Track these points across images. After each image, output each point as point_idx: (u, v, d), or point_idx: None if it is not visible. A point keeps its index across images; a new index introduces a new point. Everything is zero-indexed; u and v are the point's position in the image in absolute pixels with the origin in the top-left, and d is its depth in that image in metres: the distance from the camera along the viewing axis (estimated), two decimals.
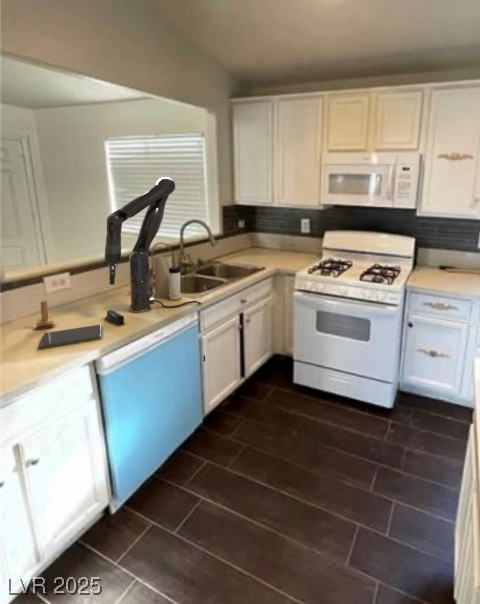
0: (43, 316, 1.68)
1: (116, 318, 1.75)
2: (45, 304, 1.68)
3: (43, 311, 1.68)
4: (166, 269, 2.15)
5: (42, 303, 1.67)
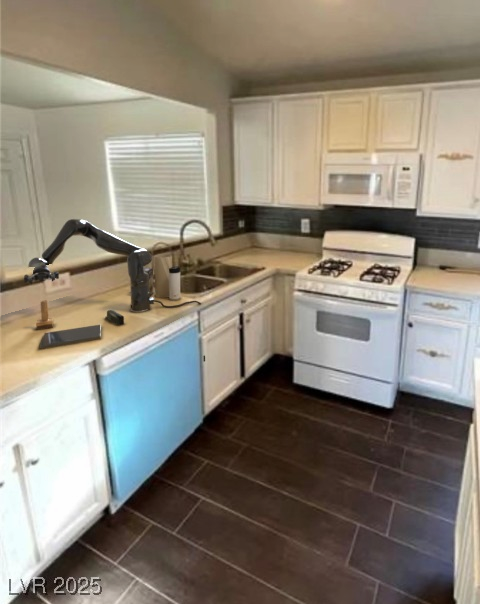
0: (43, 316, 1.68)
1: (116, 318, 1.75)
2: (45, 304, 1.68)
3: (43, 311, 1.68)
4: (166, 269, 2.15)
5: (42, 303, 1.67)
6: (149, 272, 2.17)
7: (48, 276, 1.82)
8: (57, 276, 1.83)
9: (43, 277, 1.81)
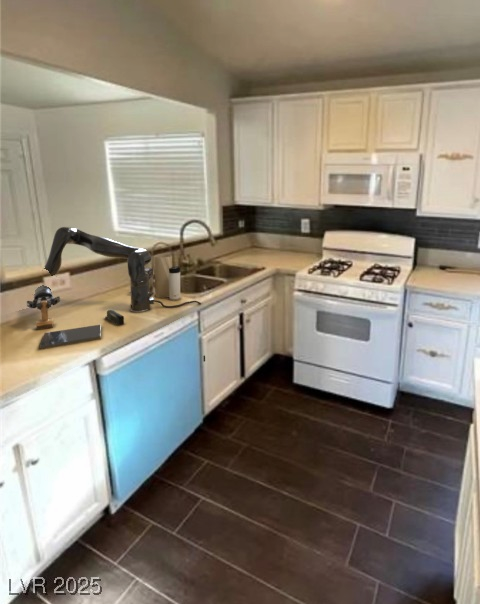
0: (43, 316, 1.68)
1: (116, 318, 1.75)
2: (45, 304, 1.68)
3: (43, 311, 1.68)
4: (166, 269, 2.15)
5: (42, 303, 1.67)
6: (149, 272, 2.17)
7: None
8: (53, 302, 1.72)
9: None
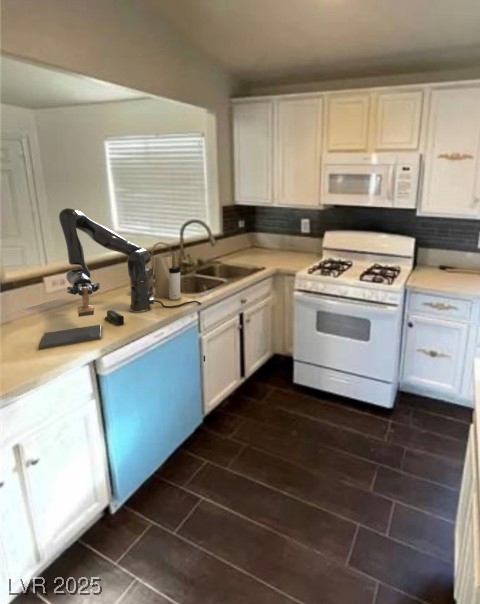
0: (84, 303, 1.62)
1: (116, 318, 1.75)
2: (86, 290, 1.62)
3: (85, 297, 1.62)
4: (166, 269, 2.15)
5: (83, 289, 1.62)
6: (149, 272, 2.17)
7: None
8: (93, 289, 1.66)
9: None
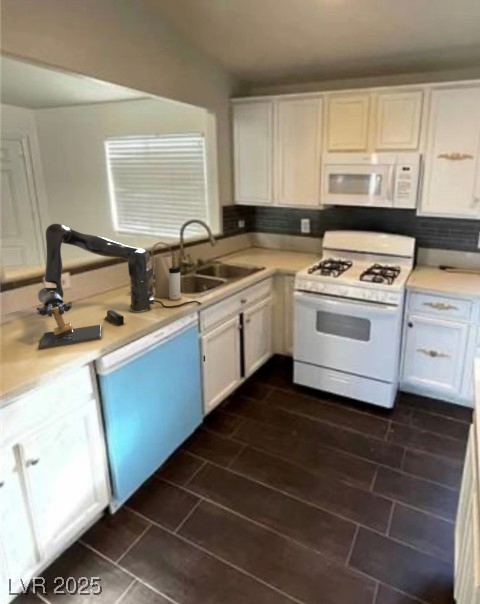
0: (59, 323, 1.56)
1: (116, 318, 1.75)
2: (57, 311, 1.55)
3: (57, 318, 1.55)
4: (166, 269, 2.15)
5: (53, 310, 1.54)
6: (149, 272, 2.17)
7: (58, 308, 1.59)
8: (65, 308, 1.59)
9: None
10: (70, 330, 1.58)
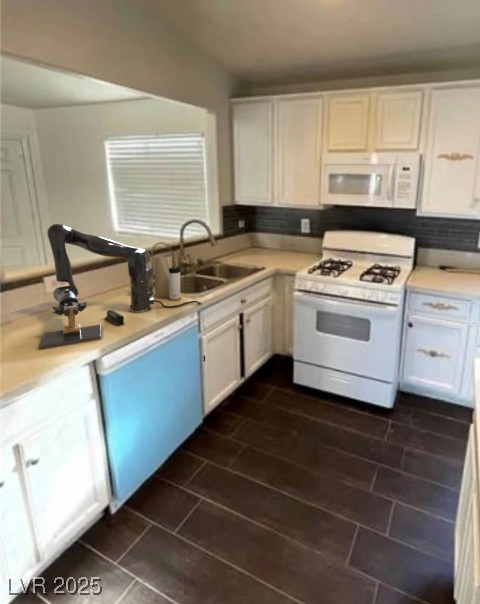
0: (70, 322, 1.58)
1: (116, 318, 1.75)
2: (72, 310, 1.58)
3: (71, 317, 1.58)
4: (166, 269, 2.15)
5: (69, 309, 1.57)
6: (149, 272, 2.17)
7: None
8: (80, 308, 1.62)
9: None
10: (78, 332, 1.60)
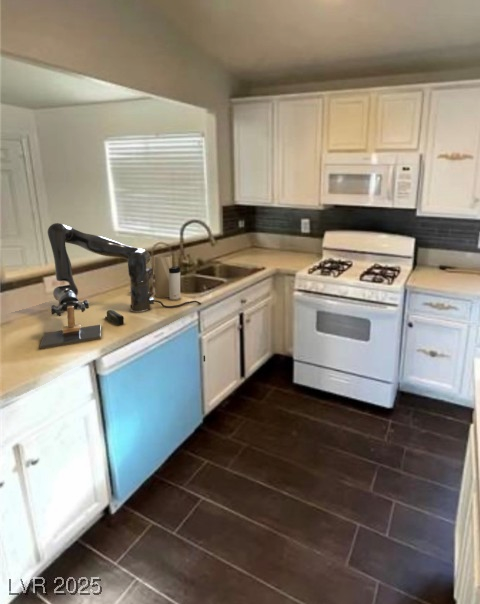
0: (70, 322, 1.58)
1: (116, 318, 1.75)
2: (72, 310, 1.58)
3: (70, 317, 1.58)
4: (166, 269, 2.15)
5: (69, 309, 1.57)
6: (149, 272, 2.17)
7: (77, 306, 1.64)
8: (87, 306, 1.65)
9: None
10: (78, 332, 1.59)
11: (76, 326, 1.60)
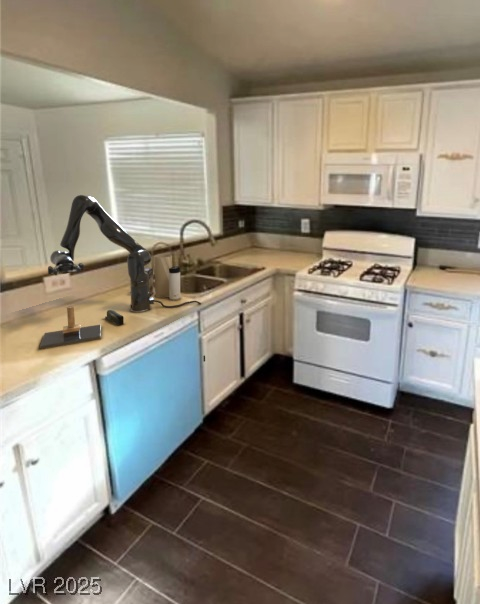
0: (70, 322, 1.58)
1: (116, 318, 1.74)
2: (72, 310, 1.58)
3: (70, 317, 1.58)
4: (166, 269, 2.15)
5: (69, 309, 1.57)
6: (149, 272, 2.17)
7: (73, 267, 1.72)
8: (82, 267, 1.73)
9: (68, 268, 1.71)
10: (78, 332, 1.59)
11: (76, 326, 1.60)
